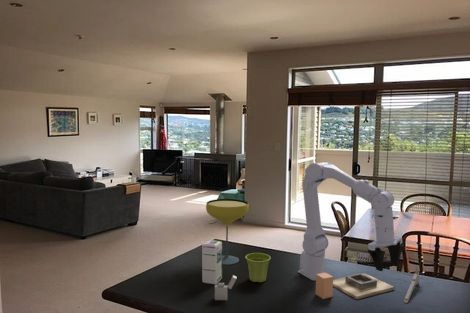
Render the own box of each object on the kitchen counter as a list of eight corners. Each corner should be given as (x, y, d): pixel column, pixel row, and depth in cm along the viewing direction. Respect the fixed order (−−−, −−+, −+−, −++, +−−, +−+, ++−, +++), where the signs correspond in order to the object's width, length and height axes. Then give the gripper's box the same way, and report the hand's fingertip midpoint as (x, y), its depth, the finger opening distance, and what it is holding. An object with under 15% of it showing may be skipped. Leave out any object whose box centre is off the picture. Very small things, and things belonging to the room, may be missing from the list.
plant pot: (256, 286, 131) (257, 263, 131) (239, 278, 138) (240, 256, 138) (275, 280, 137) (275, 257, 136) (258, 272, 144) (258, 251, 144)
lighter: (214, 299, 121) (214, 276, 120) (215, 297, 122) (215, 274, 122) (236, 300, 120) (236, 276, 120) (236, 298, 122) (236, 274, 122)
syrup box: (216, 284, 132) (217, 245, 131) (201, 282, 134) (201, 243, 133) (222, 278, 138) (222, 241, 137) (207, 276, 140) (208, 239, 139)
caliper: (415, 283, 138) (416, 266, 137) (418, 283, 137) (419, 267, 136) (403, 303, 121) (404, 284, 121) (407, 304, 120) (408, 285, 120)
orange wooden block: (315, 294, 126) (316, 274, 126) (324, 292, 128) (325, 272, 127) (323, 298, 123) (323, 278, 122) (332, 296, 124) (333, 276, 124)
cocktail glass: (228, 250, 170) (228, 197, 168) (256, 261, 157) (257, 203, 155) (196, 259, 158) (197, 202, 156) (224, 271, 145) (225, 209, 143)
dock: (328, 283, 135) (328, 275, 135) (364, 275, 143) (364, 268, 143) (356, 299, 123) (357, 290, 122) (394, 289, 131) (394, 281, 130)
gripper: (379, 232, 116) (382, 275, 116) (409, 225, 123) (412, 266, 123) (362, 229, 122) (364, 270, 122) (391, 223, 129) (393, 261, 129)
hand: (387, 268), depth 123 cm, fingers open, 7 cm apart
